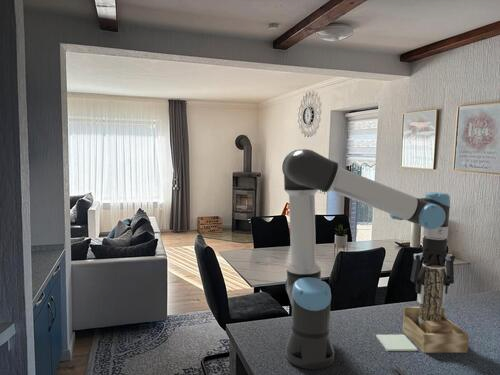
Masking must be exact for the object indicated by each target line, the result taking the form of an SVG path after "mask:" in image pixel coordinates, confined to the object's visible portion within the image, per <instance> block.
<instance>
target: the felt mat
mask: <svg viewBox="0 0 500 375" xmlns="http://www.w3.org/2000/svg"><path fill="white" fill-rule="evenodd" d="M375 337H376V338H377V340H378V341H379V342H380V344H381V345H382V346H383V347H384V349H385V350H386V351H387V352H418V349H419V348H418V347H417V346H416V345H415V344H414V343H412V341H411V339H410V338H409V337H408V336H407V335H406V334H375Z"/></svg>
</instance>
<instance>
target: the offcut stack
mask: <svg viewBox="0 0 500 375" xmlns="http://www.w3.org/2000/svg"><path fill="white" fill-rule="evenodd" d="M425 329H426V333H457V332H456V331H454V330H453V326H452V325H451V324H450V323H448V322H447V321H426V324H425Z"/></svg>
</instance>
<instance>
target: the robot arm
mask: <svg viewBox="0 0 500 375" xmlns="http://www.w3.org/2000/svg"><path fill="white" fill-rule="evenodd" d="M281 166H282V169H281V170H282V173H283V183H284V191H285V192H286V194H288V200H289V203H288V207H289V236H290V237H289V239H290V241H289V242H290V244H289V245H290V264H288V266H287V267H286V279H285V291H286V293H287V295H288V298H289V302H290V305H291V331H290V334H289V337H288V340H287V342H286V345H285V352H284V353H285V354H284V355H285V358H286V360H287V361H289V363H291V364H293V365H294V366H296V367H298V368H301V369H305V370H323V369H327V368H329V367H330V366H332V365H333V364H334V362H335V349H334V347H333V343H332V340H331V335H330V328H331V327H330V322H331V303H332V302H331V301H332V293H331V292H332V291H331V287H330V285H329V284H328V283H327V282H326V281H324V280H322V273H321V271H322V269H321V267H320V266H319V264H317V250H316V248H317V246H316V242H317V241H316V238H317V237H316V205H315V204H316V202H315V201H316V199H315V195H316V194H317V192H318V191H322V192H323V193H328V192H333V193H335V194H338V195H341V196H343V197H346V198H348V199H351V200H354V201H356V202H359V203H362V204H364V205H367V206H368V207H372V208H373V209H374V208H375V209H376V210H380V211H383V212H384V213H387V214H389V217H390V218H391V219H392V220H398V221H407V222H410V223H412V224H415V225H417V226H420V227H422V230H423V232H422V236H423V237H422V245H421V246H422V249H421V252H420V253H413V254H412V258H413V262H412V269H411V274H410V281H411V282H412V283H414V284H415V293H417V297H416V301H417V303H419V305H420V304H423V297H424V285H423V284H422V283H423V281H424V278H425V272H426V267H423V266H422V265H423V264H425V265H426V266H431V265H434V264H436V265H440V266H444V267H446V268H444V277H443V291H442V305H445V299H446V298H445V297H446V295H447V294H448V287H450V286H451V284H452V285H453V284H455V277H454V276H455V275H454V274H455V273H454V268H455V267H454V262H455V258H456V256H455V255H453V254H450V253H447V250H448V248H447V247H448V240H447V238H448V235H449V234H448V233H449V222H450V221H449V220H450V208H451V197H450V196H451V195H449V194H448V193H446V192H436V191H435V192H432V191H431V192H426V194H425V197H420V198H419V197H415V196H413V195H410V194H409V193H405V192H403V191H400V190H398V189H396V188H393V187H391V186H388V185H385V184H383V183H380V182H378V181H375V180H372V179H370V178H367V177H365V176H363V175H361V174H357V173H355V172H352V171H350V170H347V169H345V168H343V167H341V166H340V164H339V163H338V162H336V161H334V160H331V159H329V158H327V157H325V156H323V155H321V154H320V153H317V152H316V151H314V150H312V149H306V148H303V149H301V148H300V149H294V150H292V151H291V152H289V153H288V154H287V155H286V156H285V158H284V159H283V161H282V165H281ZM422 258H423V260H422ZM421 260H422V263H421ZM444 260H445V263H444ZM421 264H422V265H421ZM420 266H421V267H420Z"/></svg>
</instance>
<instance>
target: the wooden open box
mask: <svg viewBox="0 0 500 375" xmlns="http://www.w3.org/2000/svg"><path fill="white" fill-rule="evenodd" d="M445 310H446V309H445V306H441V319H440V321H447V322H448V323H450V324H451V325H452V326H453V330H454V331H456V332H457V333H424V332H423V331H422V330H421V329H420V328H419V327H418V323H419V306H404V307H403V316H402V317H403V319H402V332H403V333H404V335H405V336H406V337H407V338H408V339H409V340H410V341H411V342H413V344H414V345H415V346H416V347H417V349H419V350H420V351H421V352H422V353H424V354H425V353H431V354H432V353H468V349H469V348H468V347H469V336H470V335H469V334H468V333H467V332H466V331H465V330H463V329H462V328H461V327H459V325H457V324H456V323H454V322H453V321H451V320H450V319H449V318H448V317H446V316H445V313H446V312H445Z"/></svg>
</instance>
